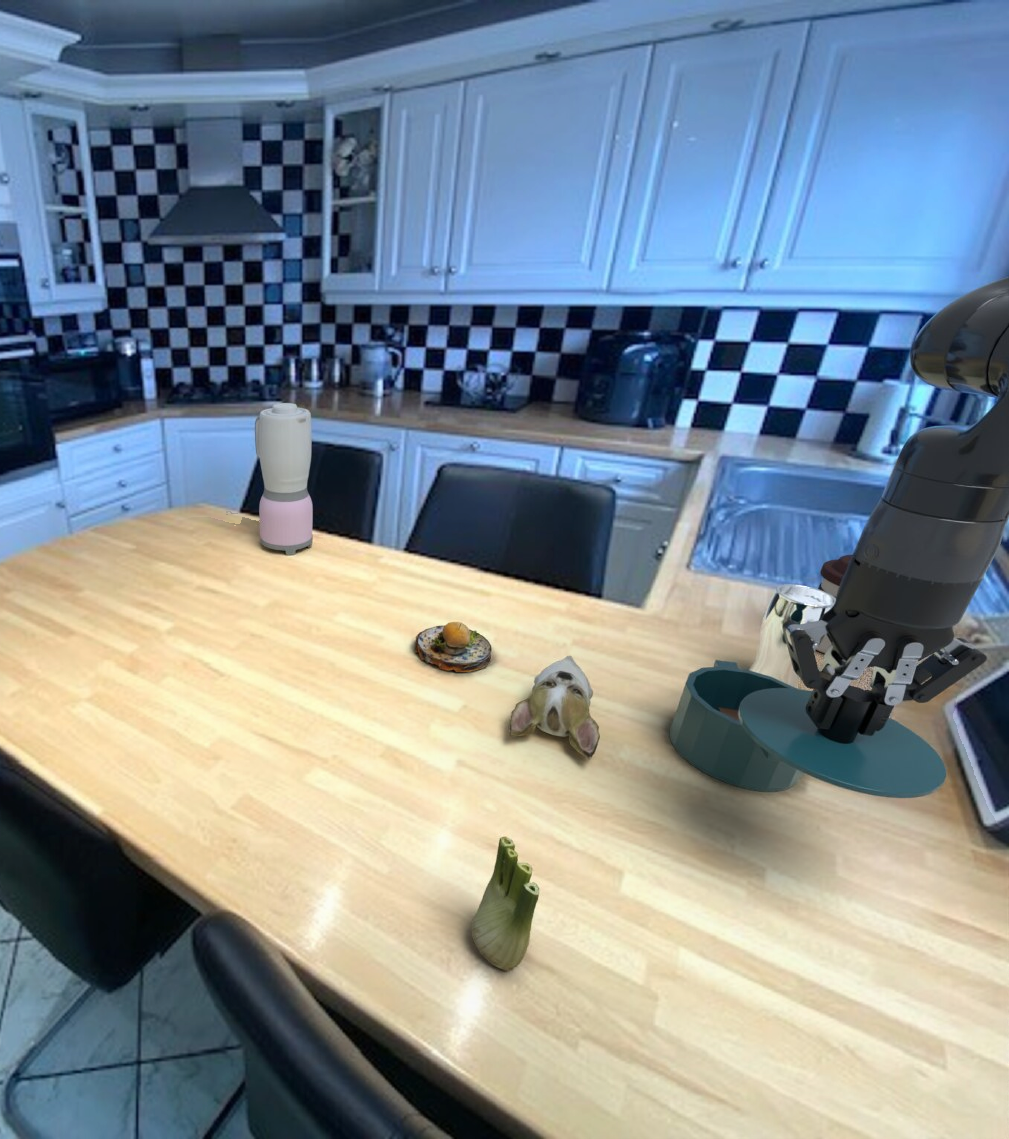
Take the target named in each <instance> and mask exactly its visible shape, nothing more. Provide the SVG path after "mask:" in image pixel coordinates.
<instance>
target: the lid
mask: <svg viewBox="0 0 1009 1139" xmlns="http://www.w3.org/2000/svg"><path fill="white" fill-rule="evenodd" d="M865 690H866V689H863V688H861V687H858V686H856V685H855V686H854V685H850V684H849V686H848V687H847V689H846V690H845V691H844V693H843V694H842V695H841V698H842V699H843V700H842V703H841V705H840V707H839V709H838V711H837V713H836V716H835V718H834V720H833V722H832V724H831V726H830V728H829V729H828V730H827V729H821V728H817V727H816V726H815V724H814V723H813V721H812V720H811V719H810V717H809V716H808V714H807V713H806V705H807V703H808V701H809V698H810V696H811V694H812V691H813V690H807V689H802V688H801V689H800V688H798V689H792V688H770V689H763V690H758V691H755V692H753V693H750V694H749V695H747V696H746V697H745V698H744V699H743V700H742V701H741V703H740V706H739V709H738V716H739V720H740V722H741V725H742V726H743V728H744V729H745V731H746V732H747V733H748V735H749V736H750V737H751V738H752V739H753V740H754V741H755V742H756V743H757V744H758V745H760V746H761V747H762V748H763V749H765V750H766V751H767V752H769V753H770V754H771V755H773V756H774V757H776V758H777V759H779V760H781V761H782V762H784V763H786V764H788V765H789V766H791V767H793V768H795V769H797V770H799V771H801V772H803V773H804V774H805V775H808V776H810V777H812V778H814V779H816V780H819V781H822V782H824V783H827V784H830V785H832V786H835V787H839V788H842V789H844V790H848V791H852V792H855V793H858V794H859V793H860V794H865V795H869V796H874V797H880V798H881V797H882V798H888V799H890V798H891V799H915V798H921V797H926V796H928V795H931V794H933V793H936V792H937V791H938V790H939V789H940V788H941V787H942V786H943V784H944V783H945V781H946V778H947V768H946V765H945V762H944V760H943V759H942V757H941V755H939V753H938V751H936V750H935V748H934V747H932V745H931V744H930V743H928V742H927V741H926V740H925V739H924V738H923V737H921V736H920V735H918V734H917V733H916V732H915V731H913V730H911V729H910V728H908V727H907V726H905V725H903V724H902V723H900V722H898V721H896V720H895V719H893V718H891V717H889V718H888V720H887V722H886V724H885V726H884V727H883V728H882V729H881V730H880V731H875V733H874V734H873V735H872V736H868V735H861V734H860V733H859V730H860V728H861V726H862V724H863V722H864V720H865V718H866V716H867V714H868V711H869V709H870V707H871V705H872V703H873V701H874V697H873V695H871V694H870V693H869V692H867V691H865Z"/></svg>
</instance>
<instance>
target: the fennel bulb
mask: <svg viewBox="0 0 1009 1139" xmlns="http://www.w3.org/2000/svg"><path fill="white" fill-rule="evenodd" d="M515 849H516V844H515V843H514V841H513V839H511V838H509V837H508V836H502V837H501V836H500V837H499V840H498V846H497V852H496V859H495V863H494V867H493V868H494V869H493V872H492V874H491V878H490V879H489V881H488V883H487V885H486V888H485V890H484V892H483V895H482V898H481V900H480V903H479V905H478V908H477V911H476V912H475V914H474V916H473V918H472V920H471V928H470V929H471V937H472V939H473V943H474V945H475V947H476V948H477V950H478V952H479V953H480V954H481V956H482V957H483V958H484V959H486V960H487V962H488V963H490V964H491V965H492V966H494V967H496V968H498V969H501V970H504V971H506V972H511V971H513V970H515V969H516V968H517V967H518V966H519V965H520V964H521V963H522V962H523V960H524V958H525V956H526V953H527V950H528V948H529V945H530V940H531V932H532V931H531V930H532V924H533V918H534V914H535V909H536V906H537V904H538V901H539V896H540V887H539V886H538V884H537V883H536V882H535V881H534V882H533V881H531V878H532V876H533V867H532V866H531V865H530V864H529V863H528V862H523V861H522V862H518V861H519V854H518V852H517V851H516V850H515Z"/></svg>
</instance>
